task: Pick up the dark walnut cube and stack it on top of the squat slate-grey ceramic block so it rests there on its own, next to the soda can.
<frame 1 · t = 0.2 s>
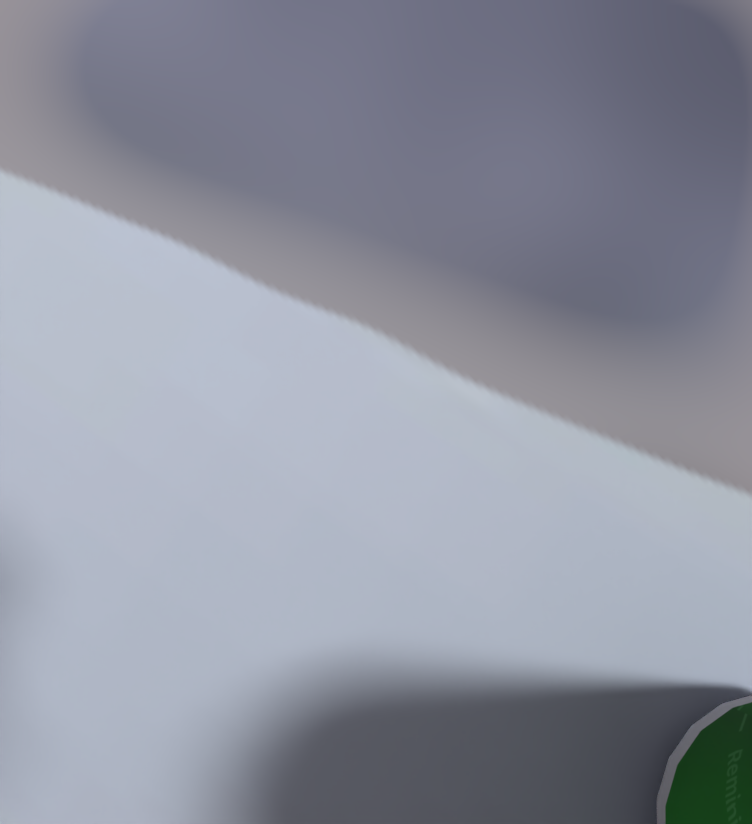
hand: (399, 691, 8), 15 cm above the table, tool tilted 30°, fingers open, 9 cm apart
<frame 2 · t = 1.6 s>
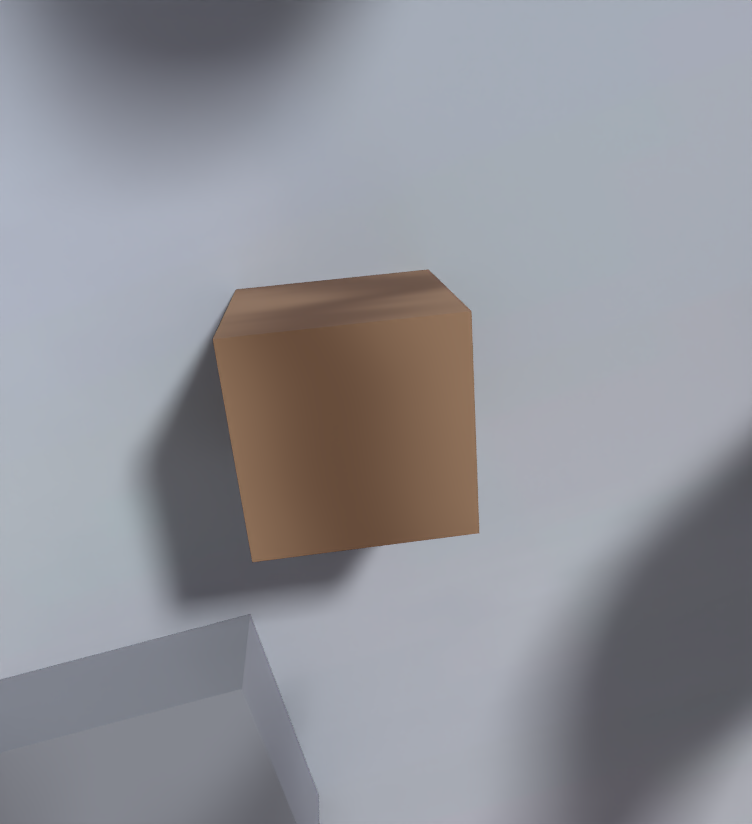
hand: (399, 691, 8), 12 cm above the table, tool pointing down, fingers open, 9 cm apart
slate block: (170, 733, 23), on the table
walnut cube: (342, 370, 19), on the table
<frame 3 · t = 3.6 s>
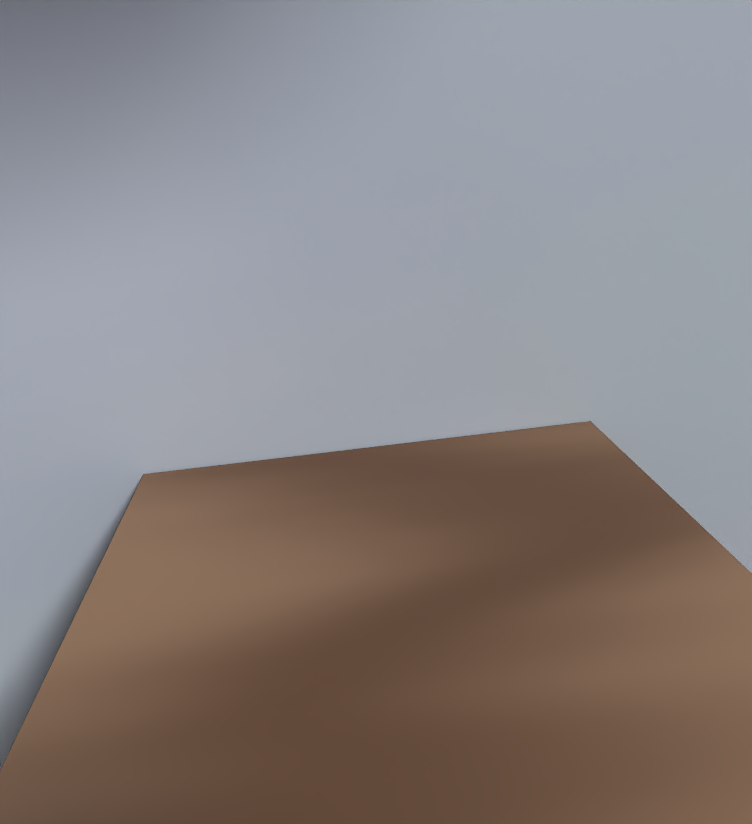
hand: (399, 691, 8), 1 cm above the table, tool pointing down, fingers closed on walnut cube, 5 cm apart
walnut cube: (388, 630, 9), on the table, touching gripper
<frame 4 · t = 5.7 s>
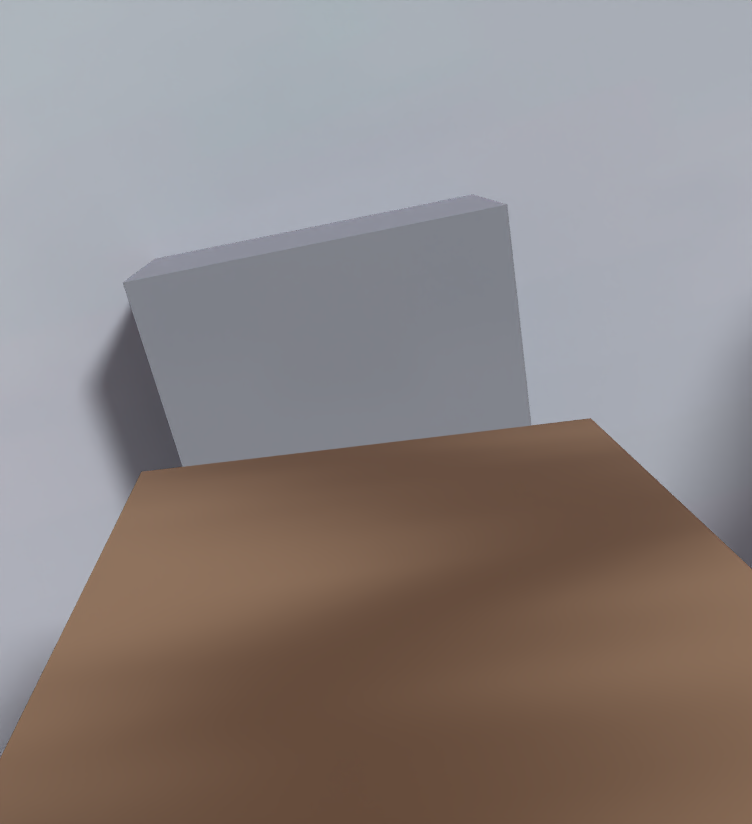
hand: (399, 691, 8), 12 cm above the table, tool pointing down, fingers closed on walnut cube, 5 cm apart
slate block: (345, 373, 19), on the table
walnut cube: (388, 628, 9), point 11 cm above the table, touching gripper
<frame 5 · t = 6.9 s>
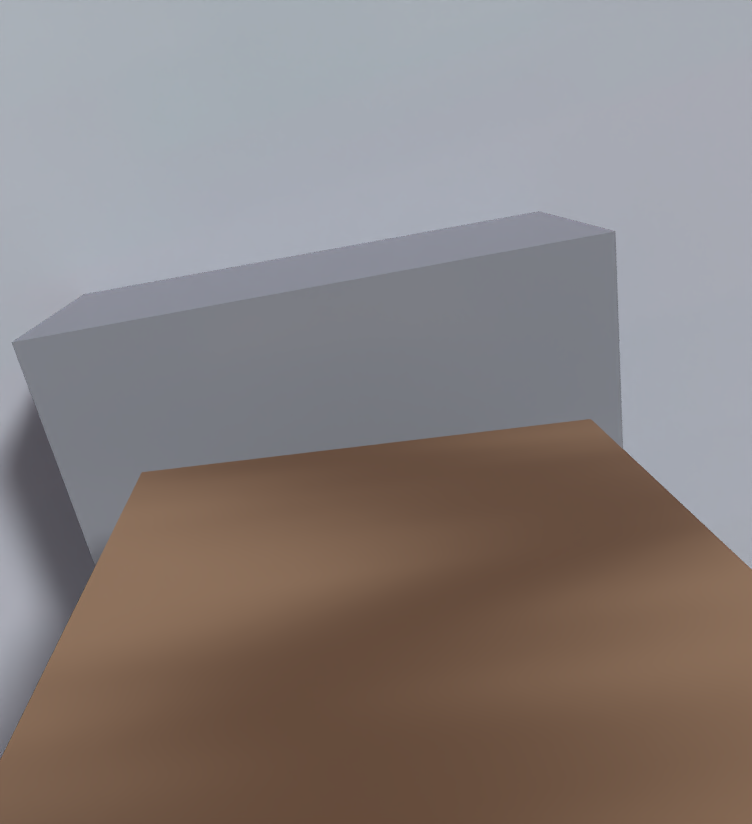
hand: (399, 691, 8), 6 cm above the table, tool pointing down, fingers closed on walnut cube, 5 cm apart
slate block: (353, 451, 14), on the table
walnut cube: (388, 628, 9), point 5 cm above the table, touching gripper
when the fingers open (6 cm above the table, at t = 7.7 s): walnut cube drops 2 cm, resting on slate block.
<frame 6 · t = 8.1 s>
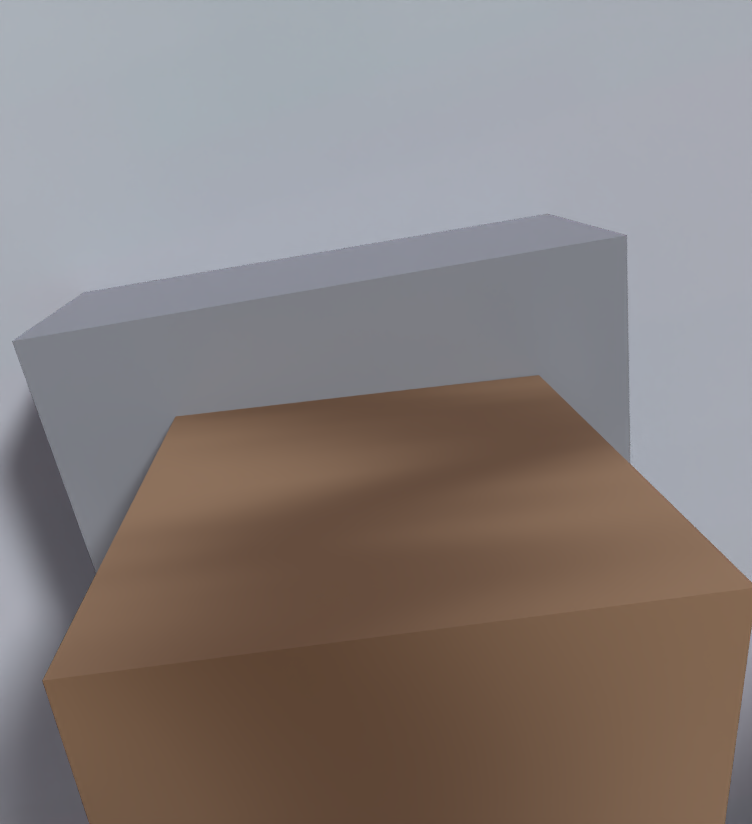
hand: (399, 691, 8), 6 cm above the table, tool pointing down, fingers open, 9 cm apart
slate block: (354, 453, 14), on the table, touching walnut cube
walnut cube: (375, 551, 10), point 3 cm above the table, touching slate block
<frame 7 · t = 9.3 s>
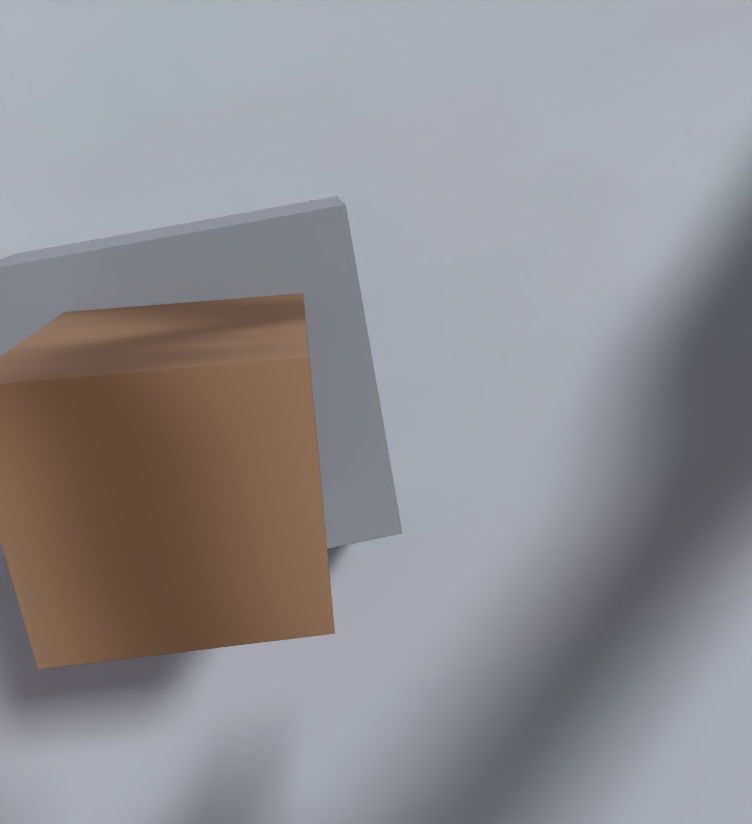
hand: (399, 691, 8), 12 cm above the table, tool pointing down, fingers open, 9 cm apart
slate block: (218, 372, 19), on the table
walnut cube: (202, 412, 16), point 3 cm above the table
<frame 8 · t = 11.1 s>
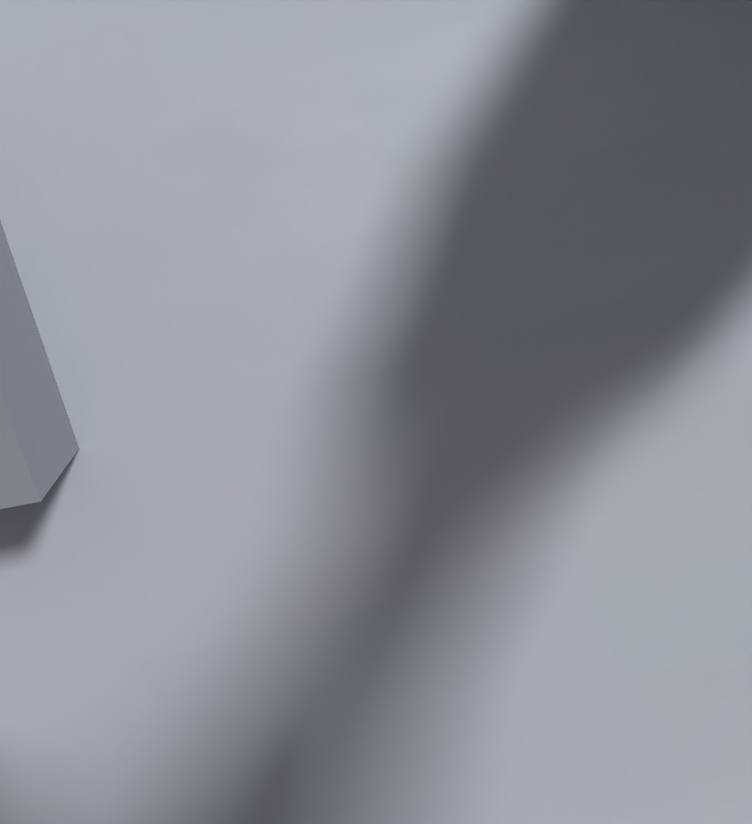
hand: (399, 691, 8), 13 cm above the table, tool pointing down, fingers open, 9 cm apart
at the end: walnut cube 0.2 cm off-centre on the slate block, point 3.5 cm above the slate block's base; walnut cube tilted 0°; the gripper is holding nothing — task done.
